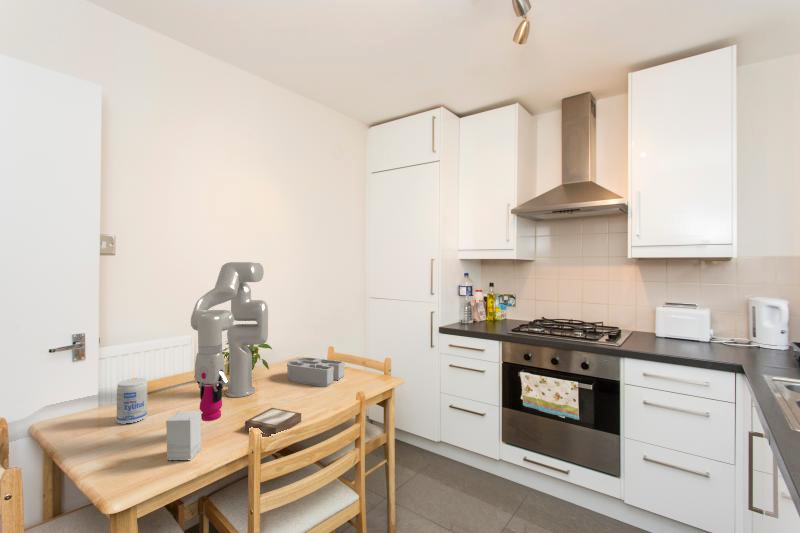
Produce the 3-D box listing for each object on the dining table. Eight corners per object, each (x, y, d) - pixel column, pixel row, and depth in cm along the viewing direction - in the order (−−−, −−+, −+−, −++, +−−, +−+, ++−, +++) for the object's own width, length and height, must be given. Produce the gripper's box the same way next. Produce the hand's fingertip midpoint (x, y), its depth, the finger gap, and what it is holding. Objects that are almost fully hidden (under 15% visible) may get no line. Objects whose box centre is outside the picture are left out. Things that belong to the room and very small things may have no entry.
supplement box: (202, 449, 125) (202, 410, 124) (190, 461, 117) (190, 420, 117) (178, 449, 124) (178, 410, 124) (165, 461, 117) (165, 420, 117)
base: (244, 430, 139) (244, 420, 138) (271, 415, 151) (271, 407, 151) (276, 437, 133) (276, 427, 133) (301, 421, 146) (301, 412, 146)
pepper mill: (213, 423, 133) (212, 366, 131) (195, 421, 134) (193, 364, 133) (226, 414, 140) (225, 359, 138) (209, 412, 141) (208, 358, 140)
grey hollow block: (327, 388, 185) (327, 370, 185) (280, 380, 196) (280, 363, 196) (344, 378, 201) (344, 361, 201) (300, 372, 211) (300, 356, 211)
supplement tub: (124, 427, 140) (124, 387, 140) (111, 421, 145) (111, 383, 145) (152, 417, 149) (152, 380, 149) (139, 413, 154) (139, 376, 153)
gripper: (183, 349, 135) (184, 399, 136) (219, 355, 129) (220, 408, 130) (201, 344, 142) (202, 392, 143) (237, 349, 135) (237, 400, 137)
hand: (211, 399), depth 136 cm, fingers closed on pepper mill, 5 cm apart
